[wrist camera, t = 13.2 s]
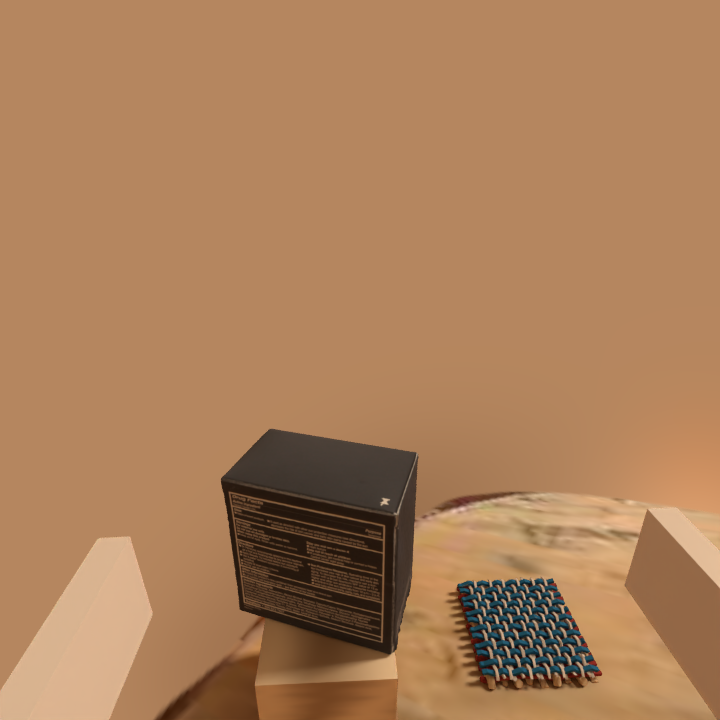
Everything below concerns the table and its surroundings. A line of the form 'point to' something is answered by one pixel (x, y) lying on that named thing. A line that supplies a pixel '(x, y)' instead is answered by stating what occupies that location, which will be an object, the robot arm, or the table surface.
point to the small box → (324, 535)
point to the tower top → (322, 677)
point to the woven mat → (524, 633)
